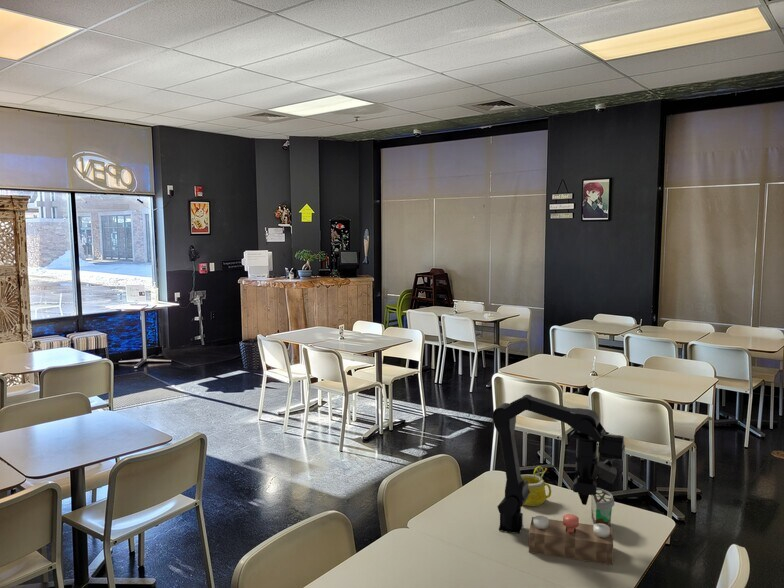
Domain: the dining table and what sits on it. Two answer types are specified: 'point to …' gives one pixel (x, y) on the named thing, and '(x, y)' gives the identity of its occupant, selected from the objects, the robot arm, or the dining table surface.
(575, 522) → the salmon round-head knob
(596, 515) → the food container
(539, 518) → the left grey plug
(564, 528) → the walnut plug block
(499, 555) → the dining table surface
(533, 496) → the mug
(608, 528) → the right grey plug
